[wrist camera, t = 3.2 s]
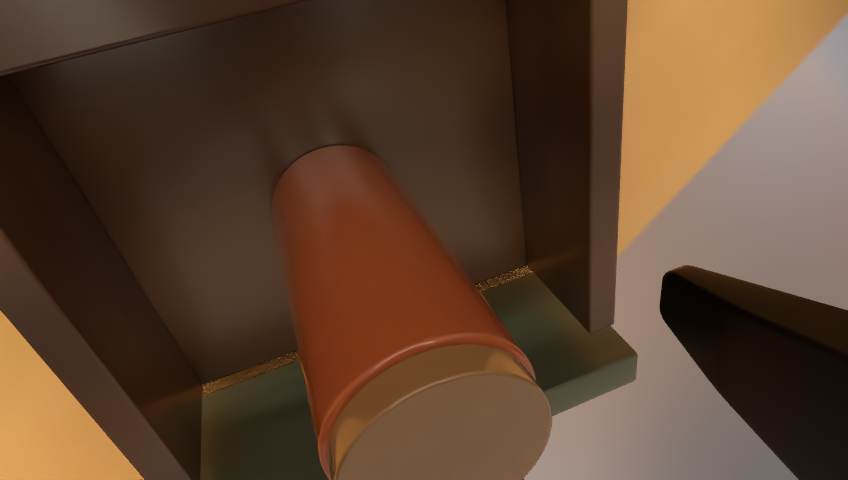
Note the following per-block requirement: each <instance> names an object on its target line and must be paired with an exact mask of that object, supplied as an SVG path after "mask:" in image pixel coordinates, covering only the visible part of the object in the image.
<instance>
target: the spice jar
mask: <svg viewBox="0 0 848 480" xmlns="http://www.w3.org/2000/svg"><path fill="white" fill-rule="evenodd" d="M271 218H272V223H273V228H274V234H275V239H276V244H277V249H278V254H279V259H280V264H281V269H282V274H283V279H284V284H285V289H286V295H287V300H288V305H289V310H290V315H291V320H292V325H293V330H294V335H295V340H296V345H297V350H298V356H299V361H300V366H301V371H302V376H303V381H304V386H305V391H306V396H307V401H308V406H309V411H310V417H311V422H312V427H313V432H314V437H315V442H316V447H317V452H318V457H319V461H320V464H321V467H322V469H323V471H324V473H325V474H326V476H327V477H328V478H329V480H522V479H523V478H524V477H525V476H526V475H527V474H528V473H529V472H530V470H531V469H532V468H533V466H534V465H535V464H536V462H537V461H538V459H539V458H540V456H541V455H542V453H543V451H544V449H545V446H546V445H547V442H548V439H549V436H550V432H551V427H552V413H551V407H550V404H549V401H548V398H547V396H546V395H545V393H544V392H543V390H542V389H541V387H540V386H539V385H538V383H537V382H536V378H535V372H534V369H533V367H532V364H531V362H530V360H529V359H528V357H527V356H526V354H525V353H524V352H523V350H522V349H521V347H520V346H519V345H518V343H517V342H516V340H515V339H514V338H513V336H512V335H511V334H510V332H509V331H508V329H507V328H506V327H505V325H504V324H503V323H502V321H501V320H500V318H499V317H498V316H497V314H496V313H495V311H494V310H493V309H492V307H491V306H490V305H489V303H488V302H487V300H486V299H485V298H484V296H483V295H482V293H481V292H480V291H479V289H478V288H477V287H476V285H475V284H474V282H473V281H472V280H471V278H470V277H469V276H468V274H467V273H466V271H465V270H464V269H463V267H462V266H461V264H460V263H459V262H458V260H457V259H456V258H455V256H454V255H453V253H452V252H451V251H450V249H449V248H448V246H447V245H446V244H445V242H444V241H443V240H442V238H441V237H440V235H439V234H438V233H437V231H436V230H435V229H434V227H433V226H432V224H431V223H430V222H429V220H428V219H427V217H426V216H425V215H424V213H423V212H422V211H421V209H420V208H419V206H418V205H417V204H416V202H415V201H414V199H413V198H412V197H411V195H410V194H409V193H408V191H407V190H406V188H405V187H404V186H403V184H402V183H401V182H400V180H399V179H398V177H397V176H396V175H395V173H394V172H393V170H392V169H391V168H390V167H389V165H388V164H387V163H386V162H385V161H384V160H382V159H381V158H380V157H379V156H377V155H375V154H374V153H372V152H370V151H368V150H365V149H362V148H359V147H354V146H348V145H336V146H328V147H324V148H320V149H317V150H314V151H312V152H310V153H308V154H306V155H304V156H302V157H301V158H299V159H298V160H296V161H295V162H294V163H293V164H292V165H291V166H290V167H288V169H287V170H286V171H285V172H284V173H283V175H282V176H281V178H280V179H279V181H278V183H277V185H276V187H275V189H274V192H273V196H272V201H271Z"/></svg>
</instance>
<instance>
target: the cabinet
mask: <svg viewBox="0 0 848 480" xmlns="http://www.w3.org/2000/svg"><path fill="white" fill-rule="evenodd" d="M304 1H308V0H0V77H2V76H6V75H10V74H14V73H18V72H22V71H26V70H30V69H34V68H38V67H42V66H46V65H50V64H54V63H58V62H62V61H67V60H71V59H75V58H79V57H83V56H87V55H91V54H95V53H99V52H103V51H107V50H111V49H115V48H119V47H123V46H127V45H131V44H135V43H139V42H143V41H147V40H151V39H155V38H159V37H163V36H167V35H171V34H175V33H179V32H183V31H187V30H192V29H196V28H200V27H204V26H208V25H212V24H216V23H220V22H224V21H228V20H232V19H236V18H240V17H244V16H248V15H252V14H256V13H260V12H264V11H268V10H272V9H276V8H280V7H284V6H288V5H292V4H296V3H300V2H304Z"/></svg>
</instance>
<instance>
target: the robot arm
mask: <svg viewBox="0 0 848 480" xmlns="http://www.w3.org/2000/svg"><path fill="white" fill-rule="evenodd" d="M660 312H661V315H662V318H663V320H664V321H665V323H666V324H667V325H668V327H669V328H670V329H671V330H672V332H673V333H674V335H675V336H676V337H677V339H678V340H679V341H680V343H681V344H682V345H683V347H684V348H685V349H686V350H687V352H688V353H689V354H690V356H691V357H692V358H693V360H694V361H695V362H696V364H697V365H698V366H699V368H700V369H701V370H702V372H703V373H704V374H705V376H706V377H707V378H708V380H709V381H710V382H711V383H712V384H713V386H714V387H715V388H716V389H717V391H718V392H719V393H720V394H721V395H722V397H723V398H724V399H725V400H726V401H727V402H728V403H729V404H730V406H731V407H732V408H733V409H734V410H735V411H736V412H737V413H738V414H739V415H740V416H741V417H742V418H743V420H744V421H745V422H746V423H747V424H748V425H749V426H750V427H751V428H752V429H753V431H754V432H755V433H756V434H757V435H758V436H759V437H760V438H761V439H762V440H763V441H764V443H765V444H766V445H767V446H768V447H769V448H770V449H771V450H772V451H773V452H774V453H775V454H776V456H777V457H778V458H779V459H780V460H781V461H782V462H783V463H784V464H785V465H786V466H787V467H788V468H789V470H790V471H791V472H792V473H793V474H794V475H795V476H796V477H797V478H798V479H799V480H848V310H844V309H841V308H837V307H834V306H830V305H827V304H823V303H820V302H816V301H813V300H809V299H806V298H803V297H798V296H796V295H792V294H789V293H785V292H782V291H778V290H775V289H771V288H767V287H764V286H761V285H757V284H754V283H750V282H747V281H743V280H740V279H736V278H733V277H729V276H726V275H722V274H719V273H715V272H712V271H708V270H704V269H701V268H698V267H694V266H690V265H685V266H681V267H678V268H676V269H673V270H671V271H668V272H667V273H665V275H664V276H663V280H662V289H661V298H660Z"/></svg>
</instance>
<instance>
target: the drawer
mask: <svg viewBox="0 0 848 480" xmlns="http://www.w3.org/2000/svg"><path fill="white" fill-rule="evenodd" d="M626 23H627V0H308V1H304V2H300V3H296V4H292V5H288V6H284V7H280V8H276V9H272V10H268V11H264V12H260V13H256V14H252V15H248V16H244V17H240V18H236V19H232V20H228V21H224V22H220V23H216V24H212V25H208V26H204V27H200V28H196V29H192V30H187V31H183V32H179V33H175V34H171V35H167V36H163V37H159V38H155V39H151V40H147V41H143V42H139V43H135V44H131V45H127V46H123V47H119V48H115V49H111V50H107V51H103V52H99V53H95V54H91V55H87V56H83V57H79V58H75V59H71V60H67V61H62V62H58V63H54V64H50V65H46V66H42V67H38V68H34V69H30V70H26V71H22V72H18V73H14V74H10V75H6V76H2V77H0V310H1V311H2V312H3V313H4V315H5V316H6V317H7V318H8V319H9V321H10V322H11V323H12V324H13V325H14V326H15V328H16V329H17V330H18V331H19V332H20V333H21V335H22V336H23V337H24V338H25V339H26V340H27V342H28V343H29V344H30V345H31V346H32V348H33V349H34V350H35V351H36V352H37V353H38V355H39V356H40V357H41V358H42V359H43V360H44V362H45V363H46V364H47V365H48V366H49V368H50V369H51V370H52V371H53V372H54V373H55V375H56V376H57V377H58V378H59V379H60V380H61V382H62V383H63V384H64V385H65V386H66V387H67V389H68V390H69V391H70V392H71V393H72V395H73V396H74V397H75V398H76V399H77V400H78V402H79V403H80V404H81V405H82V406H83V407H84V409H85V410H86V411H87V412H88V413H89V415H90V416H91V417H92V418H93V419H94V420H95V422H96V423H97V424H98V425H99V426H100V427H101V429H102V430H103V431H104V432H105V433H106V434H107V436H108V437H109V438H110V439H111V440H112V442H113V443H114V444H115V445H116V446H117V447H118V449H119V450H120V451H121V452H122V453H123V454H124V456H125V457H126V458H127V459H128V460H129V462H130V463H131V464H132V465H133V466H134V467H135V469H136V470H137V471H138V472H139V473H140V474H141V476H142V477H143V478H144V479H145V480H329V478H328V477H327V476H326V474H325V473H324V471H323V469H322V467H321V464H320V461H319V457H318V452H317V447H316V442H315V437H314V432H313V427H312V422H311V417H310V411H309V406H308V401H307V396H306V391H305V386H304V381H303V376H302V371H301V366H300V361H299V360H298V361H295V362H293V363H290V364H287V365H285V366H282V367H279V368H277V369H274V370H271V371H269V372H266V373H263V374H261V375H258V376H255V377H252V378H250V379H247V380H244V381H242V382H239V383H236V384H234V385H231V386H228V387H226V388H223V389H220V390H218V391H215V392H212V393H210V394H207V395H204V396H202V387H203V386H202V385H203V384H206V383H209V382H212V381H214V380H217V379H220V378H222V377H225V376H228V375H231V374H233V373H236V372H239V371H241V370H244V369H247V368H249V367H252V366H255V365H258V364H260V363H263V362H266V361H268V360H271V359H274V358H277V357H279V356H282V355H285V354H287V353H290V352H293V351H295V350H297V345H296V340H295V335H294V330H293V325H292V320H291V315H290V310H289V305H288V300H287V295H286V289H285V284H284V279H283V274H282V269H281V264H280V259H279V254H278V249H277V244H276V239H275V234H274V228H273V223H272V218H271V201H272V196H273V192H274V189H275V187H276V185H277V183H278V181H279V179H280V178H281V176H282V175H283V173H284V172H285V171H286V170H287V169H288V167H290V166H291V165H292V164H293V163H294V162H295V161H296V160H298V159H299V158H301V157H302V156H304V155H306V154H308V153H310V152H312V151H314V150H317V149H320V148H324V147H328V146H336V145H348V146H354V147H359V148H362V149H365V150H368V151H370V152H372V153H374V154H375V155H377V156H379V157H380V158H381V159H382V160H384V161H385V162H386V163H387V164H388V165H389V167H390V168H391V169H392V170H393V172H394V173H395V175H396V176H397V177H398V179H399V180H400V182H401V183H402V184H403V186H404V187H405V188H406V190H407V191H408V193H409V194H410V195H411V197H412V198H413V199H414V201H415V202H416V204H417V205H418V206H419V208H420V209H421V211H422V212H423V213H424V215H425V216H426V217H427V219H428V220H429V222H430V223H431V224H432V226H433V227H434V229H435V230H436V231H437V233H438V234H439V235H440V237H441V238H442V240H443V241H444V242H445V244H446V245H447V246H448V248H449V249H450V251H451V252H452V253H453V255H454V256H455V258H456V259H457V260H458V262H459V263H460V264H461V266H462V267H463V269H464V270H465V271H466V273H467V274H468V276H469V277H470V278H471V280H472V281H473V282H474V284H477V283H479V282H482V281H485V280H488V279H490V278H493V277H496V276H498V275H501V274H504V273H506V272H509V271H512V270H515V269H517V268H520V267H523V266H525V265H528V267H529V268H530V269H531V270H532V271H533V272H534V273H531V274H528V275H526V276H523V277H520V278H518V279H515V280H512V281H510V282H507V283H504V284H502V285H499V286H496V287H493V288H491V289H488V290H485V291H483V292H481V293H482V295H483V296H484V298H485V299H486V300H487V302H488V303H489V305H490V306H491V307H492V309H493V310H494V311H495V313H496V314H497V316H498V317H499V318H500V320H501V321H502V323H503V324H504V325H505V327H506V328H507V329H508V331H509V332H510V334H511V335H512V336H513V338H514V339H515V340H516V342H517V343H518V345H519V346H520V347H521V349H522V350H523V352H524V353H525V354H526V356H527V357H528V359H529V360H530V362H531V364H532V367H533V369H534V372H535V378H536V382H537V383H538V385H539V386H540V387H541V389H542V390H543V392H544V393H545V395H546V396H547V398H548V401H549V404H550V407H551V413H552V416H553V415H556V414H558V413H561V412H563V411H565V410H568V409H570V408H572V407H575V406H577V405H579V404H581V403H584V402H586V401H589V400H591V399H593V398H595V397H598V396H600V395H602V394H605V393H607V392H609V391H612V390H614V389H616V388H619V387H621V386H623V385H626V384H628V383H630V382H633V381H634V380H635V379H636V369H637V357H638V355H637V353H636V352H635V350H634V349H632V347H630V346H629V344H628V343H627V342H625V340H624V339H623V338H622V337H621V336H620V335H619V334H618V333H617V332H616V331H615V330H614V329H613V328H612V327H611V326H610V325H612V324H613V323H614V309H615V285H616V262H617V238H618V214H619V190H620V167H621V143H622V119H623V95H624V71H625V47H626ZM522 480H524V479H522Z"/></svg>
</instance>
